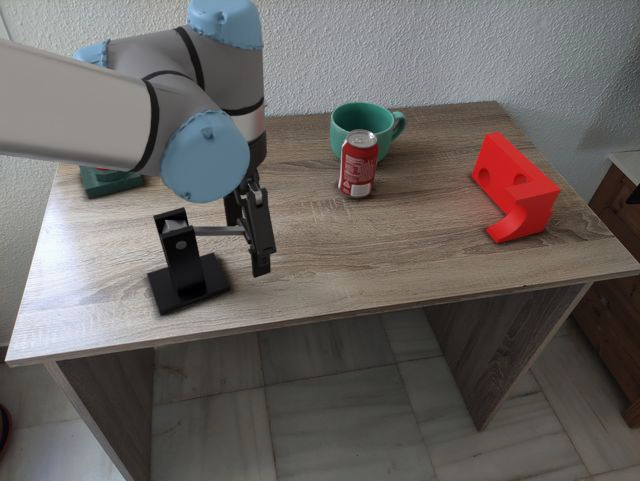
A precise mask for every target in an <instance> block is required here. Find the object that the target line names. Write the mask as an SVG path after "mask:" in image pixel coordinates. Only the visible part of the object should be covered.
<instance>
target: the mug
mask: <svg viewBox="0 0 640 481" xmlns="http://www.w3.org/2000/svg"><path fill="white" fill-rule="evenodd" d="M396 121H398V122H397V123H396V125H395V122H396ZM329 125H330V127H329V145H330V149H331V151H332V153H333V155H334V156H335V157H336V158H337V159H338V160H339V161H341V151H342V143H343V141H344V140H345V139H346V136H347V134H348V133H349V132H351V131H353V130H367V131H370V132H372V133H373V134H374V135H375V136H376V137H377V143H378V145H379V153H378V159H377V163H380V161H382V160H383V159H384V158H385V157H386V156H387V155H388V152H389V150H390V147H391V143H392V142H393V141H395V140H396V139H397V138H398V137H399V136H400V135H401V134H402V133H403V132H404V130H405V128H406V126H407V117H406V115H405V114H404V113H403V112H401V111H393V112H391V111H389V110H388V109H387V108H385V107H384V106H382V105H379V104H377V103H373V102H368V101H349V102H345V103H342V104H340V105H339V106H337V107H335V108H334V109H333V111H332V113H331V115H330V124H329Z"/></svg>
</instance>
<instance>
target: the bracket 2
mask: <svg viewBox="0 0 640 481" xmlns="http://www.w3.org/2000/svg"><path fill="white" fill-rule="evenodd" d="M481 144H482V145H481V147H480V150H479V153H478V155H477V159H476V160H475V165H474V166H473V170H472V173H471V178H472V180H474V181H475V183H476V184H477V185H478V186H479V187H480V188H481V189H482V190H483V191H484V192H485V193H486V195H487V196H488V197H489V198H490V199H491V200H492V202H494V203H495V204H496V206H497V207H498V208H499V209H500V210H501V211H502V212H503V213H504V214H505V215H506V216H505V217H504V218H502V219H501V220H500V221H497V223H495V224H492V225H490V226H487V228H486V233H487V234H488V235H489V236H490V237H491V239H492V240H493V241H494V242H495V243H496V244H500V243H503V242H508V241H511V240H515V239H518V238H523V237H526V236H530V235H533V234H538V233H541V232H544V230H545V227H546V226H547V224H548V223H549V220H550V219H551V217H552V216H553V213H554V209H553V208H552V207H553V206H554V204H555V202H556V200H557V198H558V196H559V195H560V193H561V191H562V189H561V188H560V187H559V186H558V185H557V184H556V183H555V182H554V181H552V179H550V178H549V177H548V176H547V175H546V174H545V173H544V172H543V171H542V170H541V169H539V167H537V166H536V165H535V164H534V163H533V162H532V161H531V160H530V159H529V158H528V157H527V156H526V155H524V154H523V153H522V152H521V150H519V149H518V148H517V147H516V146H515V145H513V143H511V142H510V141H509V140H508V139H507V138H506V137H505V136H504V135H502V133H501V132H499V131H496V132H495V131H494V132H490V133H485V136H484V138H483V141H482V143H481Z"/></svg>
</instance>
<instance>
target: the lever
mask: <svg viewBox="0 0 640 481" xmlns="http://www.w3.org/2000/svg"><path fill="white" fill-rule="evenodd" d="M236 223H237V226H227V225H225V226H224V225H222V226H221V225H218V226H217V225H216V226H215V225H214V226H211V225H209V226H202V225H201V226H193V225H192V226H193V228H194V231H195V236H196V237H224V236H225V237H229V236H230V237H231V236H236V237H237V236H238V237H239V236H243V238H244V239H245V241H246V243H247V244H248V246H251V245H252V243H251V239H250V235H249V232H248V228H247V224H246V220H245V217H244V216H243V217H240V218H238V219H237V221H236ZM183 227H187V224H186V222H185V220H165V224H164V228H163V232H162V234H163V233H166V232H170V231H173V230H176V229H180V228H183Z"/></svg>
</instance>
